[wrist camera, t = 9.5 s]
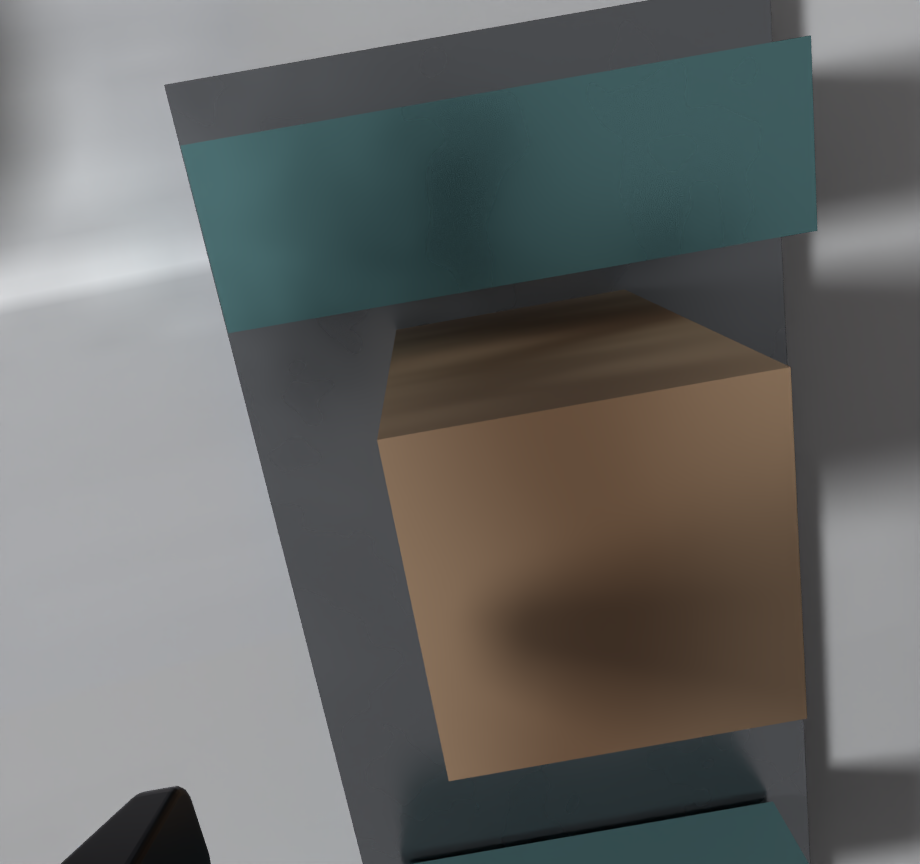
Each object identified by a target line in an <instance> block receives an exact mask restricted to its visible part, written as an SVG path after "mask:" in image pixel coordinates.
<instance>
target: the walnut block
mask: <svg viewBox="0 0 920 864" xmlns="http://www.w3.org/2000/svg"><path fill="white" fill-rule="evenodd" d="M377 442H378V447H379V452H380V456H381V461H382V466H383V471H384V475H385V480H386V485H387V490H388V494H389V499H390V504H391V509H392V513H393V518H394V523H395V528H396V532H397V537H398V542H399V547H400V552H401V556H402V561H403V566H404V571H405V575H406V580H407V585H408V590H409V594H410V599H411V604H412V609H413V613H414V618H415V623H416V628H417V632H418V637H419V642H420V647H421V651H422V656H423V661H424V666H425V671H426V675H427V680H428V685H429V690H430V694H431V699H432V704H433V709H434V713H435V718H436V723H437V728H438V732H439V737H440V742H441V747H442V751H443V756H444V761H445V766H446V771H447V775H448V780H449V781H453V780H459V779H465V778H470V777H476V776H482V775H488V774H493V773H499V772H505V771H510V770H516V769H522V768H528V767H533V766H539V765H545V764H550V763H556V762H562V761H567V760H573V759H579V758H585V757H590V756H596V755H602V754H607V753H613V752H619V751H625V750H630V749H636V748H642V747H647V746H653V745H659V744H665V743H670V742H676V741H682V740H687V739H693V738H699V737H705V736H710V735H716V734H722V733H727V732H733V731H739V730H744V729H750V728H756V727H762V726H767V725H773V724H779V723H784V722H790V721H796V720H802V719H807V706H806V684H805V663H804V642H803V621H802V600H801V578H800V557H799V536H798V515H797V494H796V473H795V451H794V430H793V409H792V388H791V367H789V366H787V365H785V364H783V363H781V362H779V361H776V360H774V359H772V358H770V357H768V356H766V355H764V354H762V353H759V352H757V351H755V350H753V349H751V348H749V347H747V346H744V345H742V344H740V343H738V342H736V341H734V340H732V339H729V338H727V337H725V336H723V335H721V334H719V333H717V332H715V331H712V330H710V329H708V328H706V327H704V326H702V325H700V324H697V323H695V322H693V321H691V320H689V319H687V318H685V317H682V316H680V315H678V314H676V313H674V312H672V311H670V310H667V309H665V308H663V307H661V306H659V305H657V304H655V303H653V302H650V301H648V300H646V299H644V298H642V297H640V296H638V295H635V294H633V293H631V292H629V291H627V290H619V291H614V292H608V293H602V294H597V295H591V296H585V297H580V298H574V299H568V300H563V301H557V302H551V303H546V304H540V305H534V306H529V307H523V308H517V309H512V310H506V311H500V312H495V313H489V314H483V315H478V316H472V317H466V318H461V319H455V320H449V321H444V322H438V323H432V324H427V325H421V326H415V327H410V328H404V329H398V330H396V334H395V340H394V346H393V352H392V357H391V363H390V369H389V375H388V380H387V386H386V392H385V397H384V403H383V409H382V415H381V420H380V426H379V432H378V438H377Z"/></svg>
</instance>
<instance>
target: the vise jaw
mask: <svg viewBox="0 0 920 864" xmlns="http://www.w3.org/2000/svg"><path fill="white" fill-rule="evenodd" d="M414 864H809V863H808V861H807V859H806V858H805V856H804V854H803V852H802V851H801V849H800V847H799V846H798V844H797V842H796V840H795V839H794V837H793V835H792V833H791V832H790V830H789V828H788V827H787V825H786V823H785V821H784V820H783V818H782V816H781V815H780V813H779V811H778V809H777V808H776V806H775V804H774V802H773V801H772V802H767V803H761V804H755V805H749V806H743V807H738V808H732V809H726V810H720V811H715V812H709V813H703V814H697V815H691V816H686V817H680V818H674V819H668V820H663V821H657V822H651V823H645V824H639V825H634V826H628V827H622V828H616V829H610V830H605V831H599V832H593V833H587V834H582V835H576V836H570V837H564V838H558V839H553V840H547V841H541V842H535V843H530V844H524V845H518V846H512V847H506V848H501V849H495V850H489V851H483V852H477V853H472V854H466V855H460V856H454V857H449V858H443V859H437V860H431V861H425V862H420V863H414Z"/></svg>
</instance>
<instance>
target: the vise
mask: <svg viewBox="0 0 920 864" xmlns="http://www.w3.org/2000/svg"><path fill="white" fill-rule="evenodd" d="M164 86H165V90H166V94H167V98H168V102H169V106H170V110H171V113H172V117H173V121H174V125H175V129H176V133H177V137H178V141H179V145H180V149H181V153H182V157H183V160H184V164H185V168H186V172H187V176H188V180H189V184H190V188H191V192H192V196H193V200H194V204H195V207H196V211H197V215H198V219H199V223H200V227H201V231H202V235H203V239H204V243H205V247H206V251H207V255H208V258H209V262H210V266H211V270H212V274H213V278H214V282H215V286H216V290H217V294H218V298H219V302H220V305H221V309H222V313H223V317H224V321H225V325H226V329H227V333H228V337H229V341H230V345H231V349H232V352H233V356H234V360H235V364H236V368H237V372H238V376H239V380H240V384H241V388H242V392H243V396H244V400H245V403H246V407H247V411H248V415H249V419H250V423H251V427H252V431H253V435H254V439H255V443H256V447H257V450H258V454H259V458H260V462H261V466H262V470H263V474H264V478H265V482H266V486H267V490H268V494H269V498H270V501H271V505H272V509H273V513H274V517H275V521H276V525H277V529H278V533H279V537H280V541H281V545H282V548H283V552H284V556H285V560H286V564H287V568H288V572H289V576H290V580H291V584H292V588H293V592H294V595H295V599H296V603H297V607H298V611H299V615H300V619H301V623H302V627H303V631H304V635H305V639H306V643H307V646H308V650H309V654H310V658H311V662H312V666H313V670H314V674H315V678H316V682H317V686H318V690H319V693H320V697H321V701H322V705H323V709H324V713H325V717H326V721H327V725H328V729H329V733H330V737H331V741H332V744H333V748H334V752H335V756H336V760H337V764H338V768H339V772H340V776H341V780H342V784H343V788H344V791H345V795H346V799H347V803H348V807H349V811H350V815H351V819H352V823H353V827H354V831H355V835H356V838H357V842H358V846H359V850H360V854H361V858H362V862H363V864H414V863H420V862H425V861H431V860H437V859H443V858H449V857H454V856H460V855H466V854H472V853H477V852H483V851H489V850H495V849H501V848H506V847H512V846H518V845H524V844H530V843H535V842H541V841H547V840H553V839H558V838H564V837H570V836H576V835H582V834H587V833H593V832H599V831H605V830H610V829H616V828H622V827H628V826H634V825H639V824H645V823H651V822H657V821H663V820H668V819H674V818H680V817H686V816H691V815H697V814H703V813H709V812H715V811H720V810H726V809H732V808H738V807H743V806H749V805H755V804H761V803H767V802H772V801H773V802H774V804H775V806H776V808H777V809H778V811H779V813H780V815H781V816H782V818H783V820H784V821H785V823H786V825H787V827H788V828H789V830H790V832H791V833H792V835H793V837H794V839H795V840H796V842H797V844H798V846H799V847H800V849H801V851H802V852H803V854H804V856H805V858H806V859H807V861H808V863H809V864H810V851H809V829H808V808H807V786H806V764H805V742H804V721H803V719H802V720H796V721H790V722H784V723H779V724H773V725H767V726H762V727H756V728H750V729H744V730H739V731H733V732H727V733H722V734H716V735H710V736H705V737H699V738H693V739H687V740H682V741H676V742H670V743H665V744H659V745H653V746H647V747H642V748H636V749H630V750H625V751H619V752H613V753H607V754H602V755H596V756H590V757H585V758H579V759H573V760H567V761H562V762H556V763H550V764H545V765H539V766H533V767H528V768H522V769H516V770H510V771H505V772H499V773H493V774H488V775H482V776H476V777H470V778H465V779H459V780H453V781H449V780H448V775H447V771H446V766H445V761H444V756H443V751H442V747H441V742H440V737H439V732H438V728H437V723H436V718H435V713H434V709H433V704H432V699H431V694H430V690H429V685H428V680H427V675H426V671H425V666H424V661H423V656H422V651H421V647H420V642H419V637H418V632H417V628H416V623H415V618H414V613H413V609H412V604H411V599H410V594H409V590H408V585H407V580H406V575H405V571H404V566H403V561H402V556H401V552H400V547H399V542H398V537H397V532H396V528H395V523H394V518H393V513H392V509H391V504H390V499H389V494H388V490H387V485H386V480H385V475H384V471H383V466H382V461H381V456H380V452H379V447H378V442H377V438H378V432H379V426H380V420H381V415H382V409H383V403H384V397H385V392H386V386H387V380H388V375H389V369H390V363H391V357H392V352H393V346H394V340H395V334H396V330H398V329H404V328H410V327H415V326H421V325H427V324H432V323H438V322H444V321H449V320H455V319H461V318H466V317H472V316H478V315H483V314H489V313H495V312H500V311H506V310H512V309H517V308H523V307H529V306H534V305H540V304H546V303H551V302H557V301H563V300H568V299H574V298H580V297H585V296H591V295H597V294H602V293H608V292H614V291H619V290H627V291H629V292H631V293H633V294H635V295H638V296H640V297H642V298H644V299H646V300H648V301H650V302H653V303H655V304H657V305H659V306H661V307H663V308H665V309H667V310H670V311H672V312H674V313H676V314H678V315H680V316H682V317H685V318H687V319H689V320H691V321H693V322H695V323H697V324H700V325H702V326H704V327H706V328H708V329H710V330H712V331H715V332H717V333H719V334H721V335H723V336H725V337H727V338H729V339H732V340H734V341H736V342H738V343H740V344H742V345H744V346H747V347H749V348H751V349H753V350H755V351H757V352H759V353H762V354H764V355H766V356H768V357H770V358H772V359H774V360H776V361H779V362H781V363H783V364H785V365H787V351H786V329H785V308H784V286H783V264H782V243H781V237H784V236H790V235H795V234H801V233H807V232H813V231H817V206H816V176H815V145H814V115H813V84H812V54H811V36H805V37H799V38H793V39H788V40H782V41H776V42H772V25H771V3H770V0H647V1H642V2H636V3H630V4H625V5H619V6H613V7H607V8H602V9H596V10H590V11H585V12H579V13H573V14H567V15H562V16H556V17H550V18H545V19H539V20H533V21H527V22H522V23H516V24H510V25H505V26H499V27H493V28H487V29H482V30H476V31H470V32H464V33H459V34H453V35H447V36H442V37H436V38H430V39H424V40H419V41H413V42H407V43H402V44H396V45H390V46H384V47H379V48H373V49H367V50H362V51H356V52H350V53H344V54H339V55H333V56H327V57H322V58H316V59H310V60H304V61H299V62H293V63H287V64H281V65H276V66H270V67H264V68H259V69H253V70H247V71H241V72H236V73H230V74H224V75H219V76H213V77H207V78H201V79H196V80H190V81H184V82H179V83H173V84H167V85H164Z"/></svg>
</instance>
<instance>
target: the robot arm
mask: <svg viewBox="0 0 920 864" xmlns="http://www.w3.org/2000/svg"><path fill="white" fill-rule="evenodd" d="M61 864H211V863H210V857H209V853H208V849H207V846H206V843H205V840H204V837H203V834H202V831H201V828H200V825H199V822H198V819H197V816H196V813H195V810H194V807H193V804H192V801H191V798H190V796H189V794H188V793H187V791H186V790H185V789H183V788H181V787H179V786H174V787H169V788H163V789H157V790H151V791H146V792H142V793H139V794H137V795H136V796H135V797H133V798H132V799H131V800H130V801H129V802H128V803H127V804H125V805H124V806H123V807H122V808H121V809H120V810H119V811H118V812H117V813H116V814H115V815H113V816H112V817H111V818H110V819H109V820H108V821H107V822H106V823H105V824H104V825H103V826H101V827H100V828H99V829H98V830H97V831H96V832H95V833H94V834H93V835H92V836H91V837H89V838H88V839H87V840H86V841H85V842H84V843H83V844H82V845H81V846H80V847H79V848H77V849H76V850H75V851H74V852H73V853H72V854H71V855H70V856H69V857H68V858H67V859H65V860H64V861H63V862H62V863H61Z"/></svg>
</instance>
